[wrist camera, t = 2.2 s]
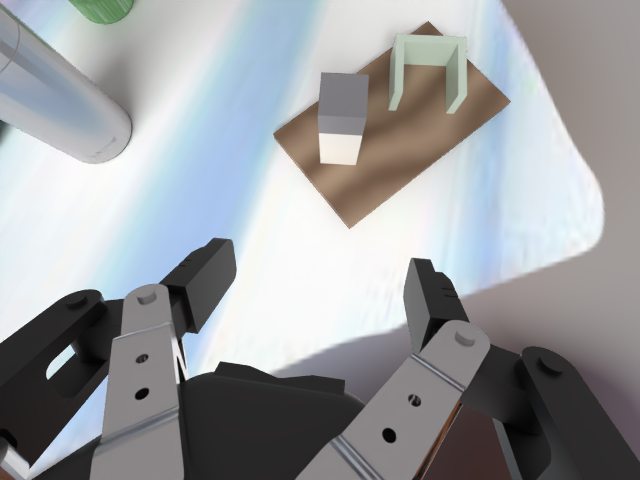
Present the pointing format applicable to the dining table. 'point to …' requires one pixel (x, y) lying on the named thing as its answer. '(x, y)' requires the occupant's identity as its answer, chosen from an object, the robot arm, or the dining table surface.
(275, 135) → the board
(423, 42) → the end holder
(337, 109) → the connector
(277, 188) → the dining table surface
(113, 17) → the ramekin
